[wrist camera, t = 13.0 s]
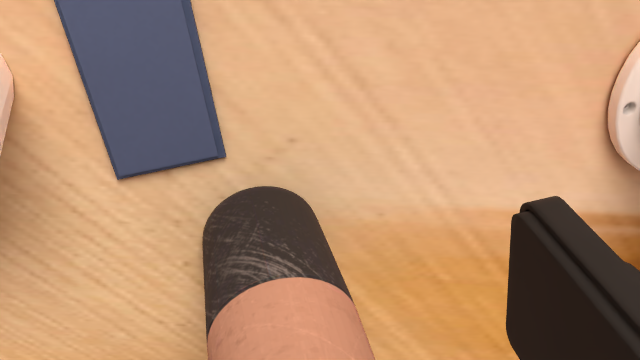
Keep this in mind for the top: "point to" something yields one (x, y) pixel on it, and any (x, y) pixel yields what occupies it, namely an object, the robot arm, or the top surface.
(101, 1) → the blue flat rectangular slab
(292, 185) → the top surface
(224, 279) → the travel mug
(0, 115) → the cream tapered cup
